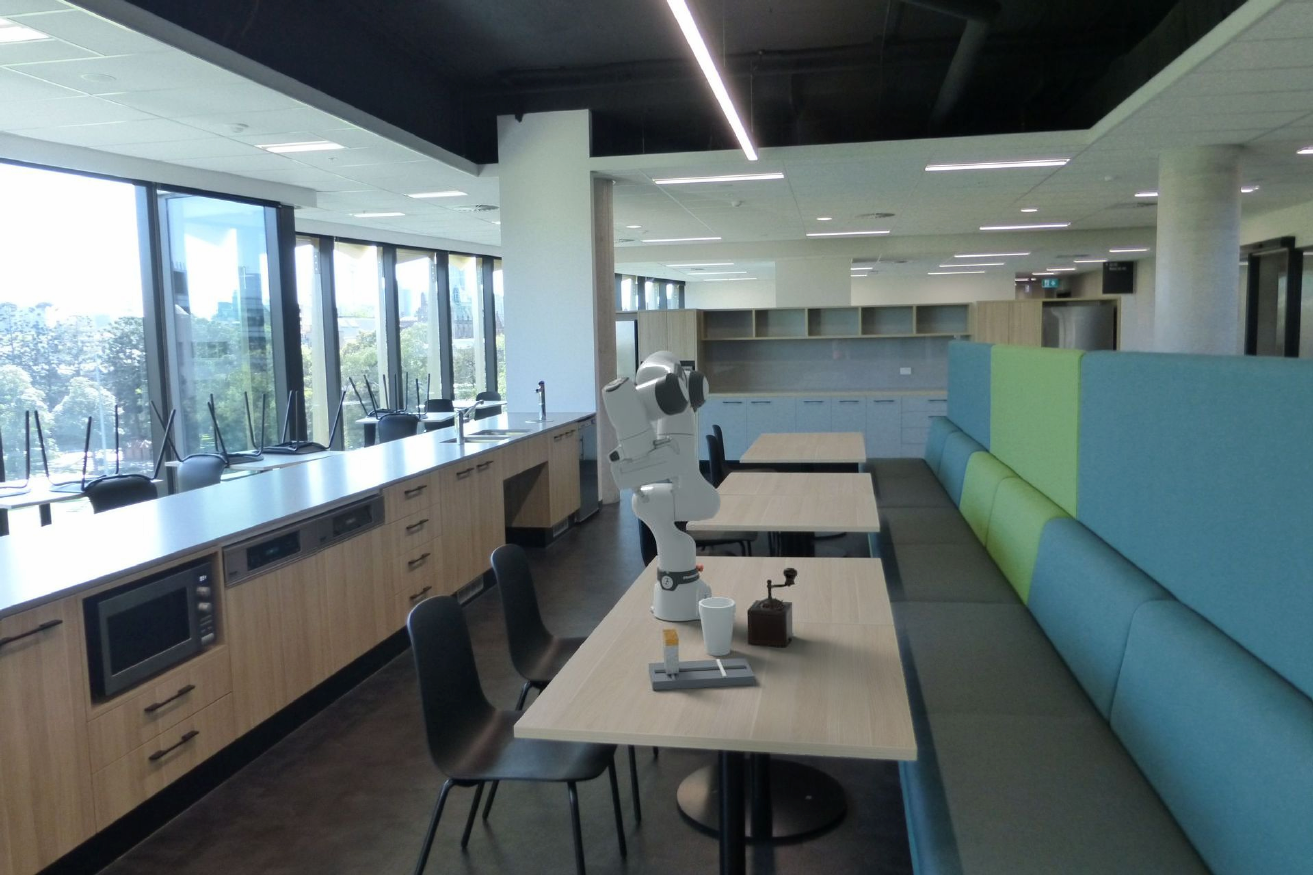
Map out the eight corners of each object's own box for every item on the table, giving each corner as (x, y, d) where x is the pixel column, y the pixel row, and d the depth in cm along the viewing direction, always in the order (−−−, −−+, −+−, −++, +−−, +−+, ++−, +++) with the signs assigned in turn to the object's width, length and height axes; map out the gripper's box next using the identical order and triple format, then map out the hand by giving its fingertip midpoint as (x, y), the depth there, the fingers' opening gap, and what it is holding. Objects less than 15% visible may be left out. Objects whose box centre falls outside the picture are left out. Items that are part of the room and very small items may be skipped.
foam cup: (706, 659, 228) (705, 609, 227) (694, 647, 237) (693, 599, 235) (741, 655, 230) (740, 605, 229) (728, 643, 239) (728, 595, 238)
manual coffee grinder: (788, 648, 235) (787, 581, 233) (746, 644, 238) (745, 578, 236) (799, 629, 249) (799, 566, 247) (760, 626, 253) (759, 563, 251)
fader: (666, 674, 211) (665, 639, 210) (663, 664, 218) (662, 629, 217) (679, 674, 212) (678, 638, 211) (676, 663, 219) (675, 629, 218)
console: (652, 689, 209) (652, 680, 209) (648, 671, 221) (648, 662, 221) (754, 684, 211) (754, 674, 211) (745, 665, 223) (745, 656, 223)
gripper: (681, 430, 208) (702, 485, 210) (616, 450, 221) (636, 501, 222) (666, 439, 203) (688, 495, 205) (601, 458, 216) (622, 511, 217)
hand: (661, 499), depth 214 cm, fingers open, 8 cm apart
